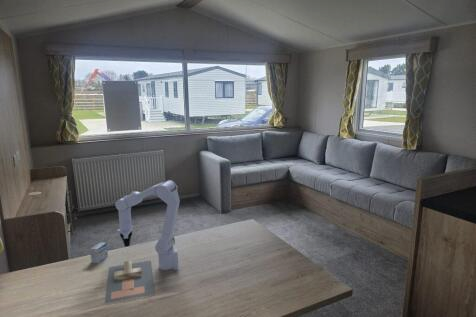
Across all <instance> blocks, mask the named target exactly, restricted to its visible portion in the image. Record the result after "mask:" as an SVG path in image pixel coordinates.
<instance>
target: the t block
mask: <svg viewBox="0 0 476 317" xmlns="http://www.w3.org/2000/svg"><path fill="white" fill-rule="evenodd" d="M132 263H133V262H132V260H127V261H124V262H123V265H124V270H122V271H116V272H114V281H116V280H121V279H127V278H133V277H139V276H142V273H141V267H140V268H134V269H132Z"/></svg>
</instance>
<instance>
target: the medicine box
mask: <svg viewBox="0 0 476 317" xmlns="http://www.w3.org/2000/svg"><path fill="white" fill-rule="evenodd" d="M89 251H90V252H89V253H90V262H91V263H92V264H100V263H102V262H103V261H104V260H105V259H106V258H108V257H109V254H108V253H109V252H108V243H107V242H104V241H103V242H98V243H96V244H95V245H94V246H92V247H91V248H89Z"/></svg>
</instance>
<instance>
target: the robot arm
mask: <svg viewBox="0 0 476 317" xmlns="http://www.w3.org/2000/svg"><path fill="white" fill-rule="evenodd" d="M178 188H179V186H178V185H177V184H176V182H174V181H173V180H170V179H169V180H166V181H162V182H159V183H157V184H155V185H153V186H150V187H148V188H147V189H145V190H142V191H141V192H140V191H134V190H133V191H132V192H130V194H128V195H127V194H126V195H124V196H123V197H122V198H120V199H118V200H116V201H115V204H114V205H115V208H116V209H117V211H118V220H119V222H118V224H119V228H118V229H117V233H120V238H121V239H122V242H123V245H124V247H130V244H131V238H132V236H133V224H132V223H133V222H132V212H131V211H132V207H133V206H136V205H138V204H140V203H142V202H143V199H145V198H147V197H149V196H152V195H153V196H155V197H158V198H159V199H161V201H163V202H164V203H165V204H167V206H166V211H165V217H164V222H163V226H162V231H161V234H160V236H159V238H158V241H157V243H156V244H155V247H154V249H155V252H156V253H157V255H158V268H159V269H160V270H162V271H166V270H167V271H168V270H171V269H173V271H177V270H179V253H178V250H177V249H176V248H174V245H175V244H176V239H175V237H176V235H175V233H174V231H175V226H176V221H177V217H178V212H179V208H180V202H181V201H180V197H179V193H178Z"/></svg>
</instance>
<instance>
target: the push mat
mask: <svg viewBox="0 0 476 317" xmlns="http://www.w3.org/2000/svg"><path fill="white" fill-rule="evenodd" d="M140 267H141V273H142V276H139V277H133V278H127V279H121V280H116V281H114V272H116V271H122V270H124V264H120V265H114V266H109V267H108V271H107V272H108V274H107V281H106V289H105V290H106V291H105V298H104V304H108V306H109V305H111V303H113V305H115V304H116V302H118V301H119V302H118V304H120V303H121V301H122V300H125V301H123V303H125V302H126V300H128V299H130V300H128V302H129V301H131V299H133V301H134V300H135V301H136V298H138V299H141V298H140V297H143V299H144V298H146V296H148V298H150V297H151V295H153V297H155V295H154V294H156V290H155V281H154V275H153V274H154V273H153V266H152V260H145V261H139V262H132V269H134V268H140ZM114 302H115V303H114Z"/></svg>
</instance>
